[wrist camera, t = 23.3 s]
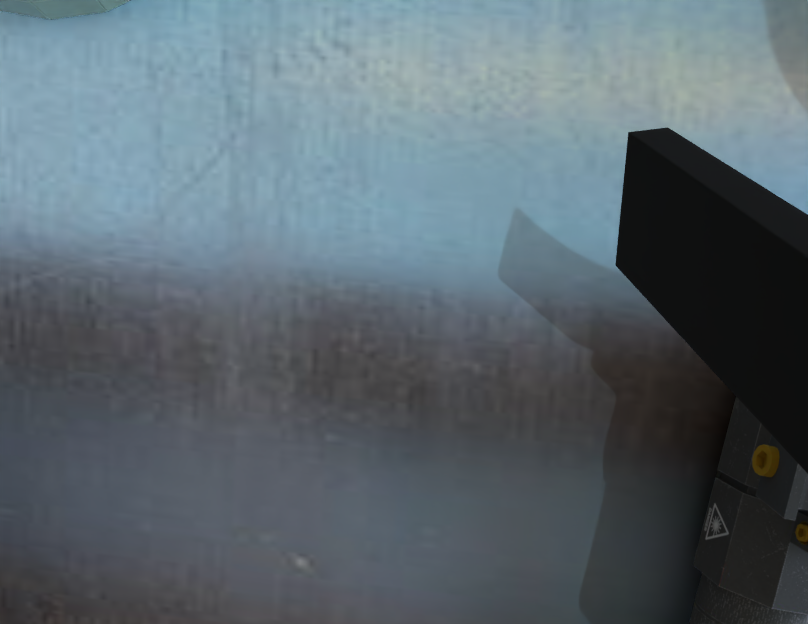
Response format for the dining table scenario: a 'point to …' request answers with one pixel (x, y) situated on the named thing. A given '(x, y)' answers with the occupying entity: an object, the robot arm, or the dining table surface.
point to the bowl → (58, 7)
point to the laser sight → (754, 532)
